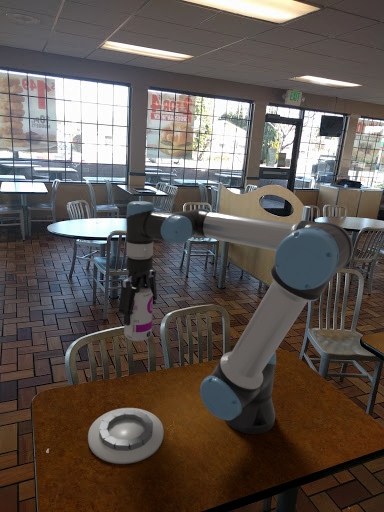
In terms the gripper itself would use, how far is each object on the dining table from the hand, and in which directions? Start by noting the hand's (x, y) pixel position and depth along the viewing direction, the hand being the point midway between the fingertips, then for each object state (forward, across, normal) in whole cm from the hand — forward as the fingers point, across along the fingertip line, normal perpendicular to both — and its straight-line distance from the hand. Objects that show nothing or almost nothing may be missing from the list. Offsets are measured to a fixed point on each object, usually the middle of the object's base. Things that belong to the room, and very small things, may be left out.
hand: (138, 328), depth 117 cm
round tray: (+23, +16, +9) cm, 29 cm away
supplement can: (+3, 0, 0) cm, 3 cm away
